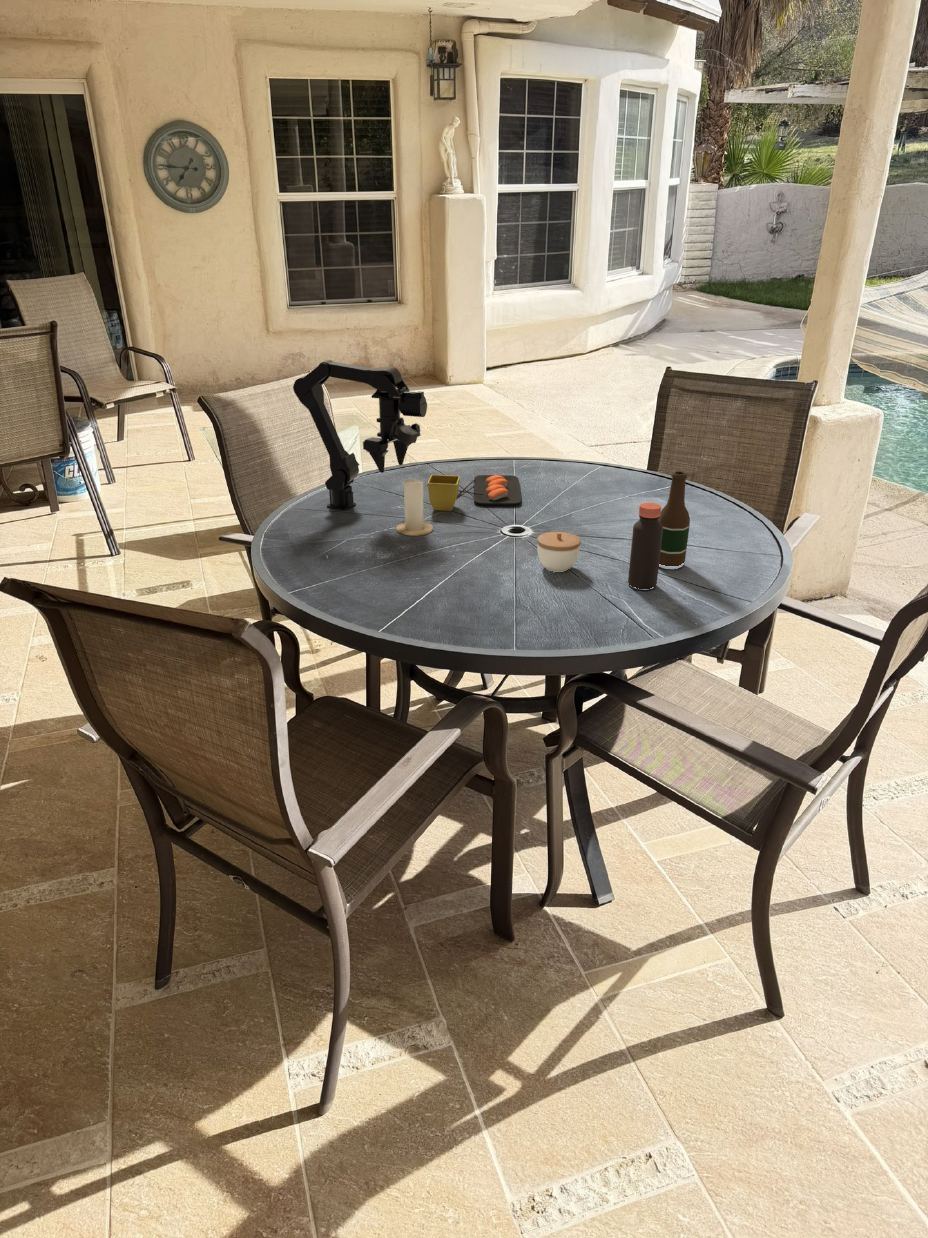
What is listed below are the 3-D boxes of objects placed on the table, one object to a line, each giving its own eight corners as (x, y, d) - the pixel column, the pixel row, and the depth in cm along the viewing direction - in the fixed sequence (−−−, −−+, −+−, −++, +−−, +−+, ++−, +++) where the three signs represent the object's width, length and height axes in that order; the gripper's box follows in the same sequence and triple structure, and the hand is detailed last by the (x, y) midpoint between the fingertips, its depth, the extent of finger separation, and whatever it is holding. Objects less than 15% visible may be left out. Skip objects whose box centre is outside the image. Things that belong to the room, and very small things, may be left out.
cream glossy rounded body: (403, 529, 239) (402, 484, 233) (407, 523, 244) (406, 478, 238) (421, 530, 238) (420, 485, 233) (425, 524, 243) (424, 479, 237)
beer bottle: (685, 561, 221) (697, 470, 211) (682, 572, 215) (694, 478, 204) (655, 557, 224) (665, 466, 213) (651, 568, 217) (661, 475, 206)
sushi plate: (521, 509, 259) (522, 497, 258) (421, 507, 260) (421, 495, 258) (518, 480, 286) (518, 469, 284) (427, 479, 286) (427, 468, 284)
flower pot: (460, 504, 261) (460, 475, 257) (457, 513, 254) (457, 484, 250) (431, 503, 262) (431, 474, 258) (427, 512, 254) (427, 482, 250)
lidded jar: (550, 579, 210) (552, 543, 206) (527, 564, 219) (529, 529, 215) (587, 571, 215) (589, 536, 211) (563, 557, 223) (565, 523, 219)
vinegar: (650, 593, 203) (659, 512, 194) (623, 587, 206) (630, 507, 198) (660, 583, 208) (669, 504, 199) (634, 577, 211) (641, 499, 203)
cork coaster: (389, 531, 240) (389, 529, 239) (410, 521, 247) (410, 519, 247) (419, 538, 235) (419, 536, 235) (439, 527, 243) (439, 525, 242)
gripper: (393, 424, 231) (395, 481, 238) (432, 411, 246) (432, 465, 252) (360, 419, 236) (363, 474, 243) (399, 407, 251) (401, 459, 258)
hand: (391, 468), depth 249 cm, fingers open, 9 cm apart
